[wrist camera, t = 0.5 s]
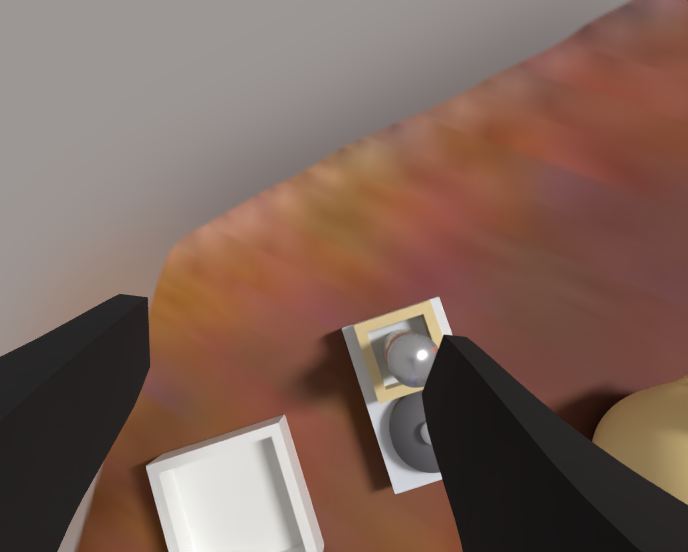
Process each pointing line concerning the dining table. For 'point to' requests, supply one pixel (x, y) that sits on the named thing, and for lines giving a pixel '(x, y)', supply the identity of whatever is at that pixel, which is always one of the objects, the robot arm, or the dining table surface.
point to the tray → (236, 494)
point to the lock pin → (409, 356)
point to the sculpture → (651, 435)
